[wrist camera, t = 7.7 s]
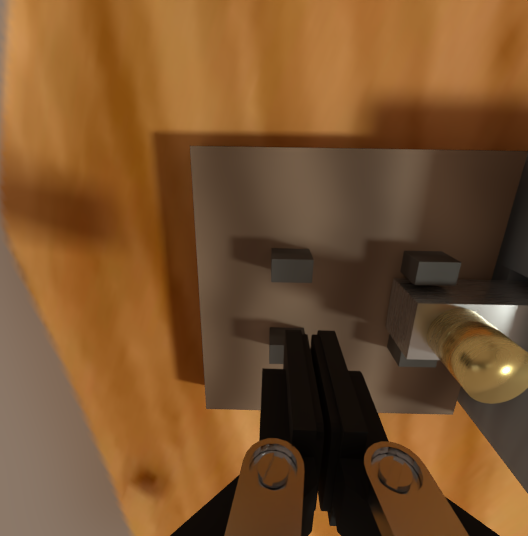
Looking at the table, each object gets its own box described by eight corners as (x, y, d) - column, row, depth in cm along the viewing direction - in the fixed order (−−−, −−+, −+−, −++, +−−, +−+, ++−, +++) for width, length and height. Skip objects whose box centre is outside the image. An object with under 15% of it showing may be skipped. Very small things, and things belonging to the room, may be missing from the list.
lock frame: (211, 387, 22) (187, 484, 16) (198, 146, 17) (153, 143, 10) (565, 395, 22) (690, 497, 16) (670, 153, 17) (932, 155, 10)
